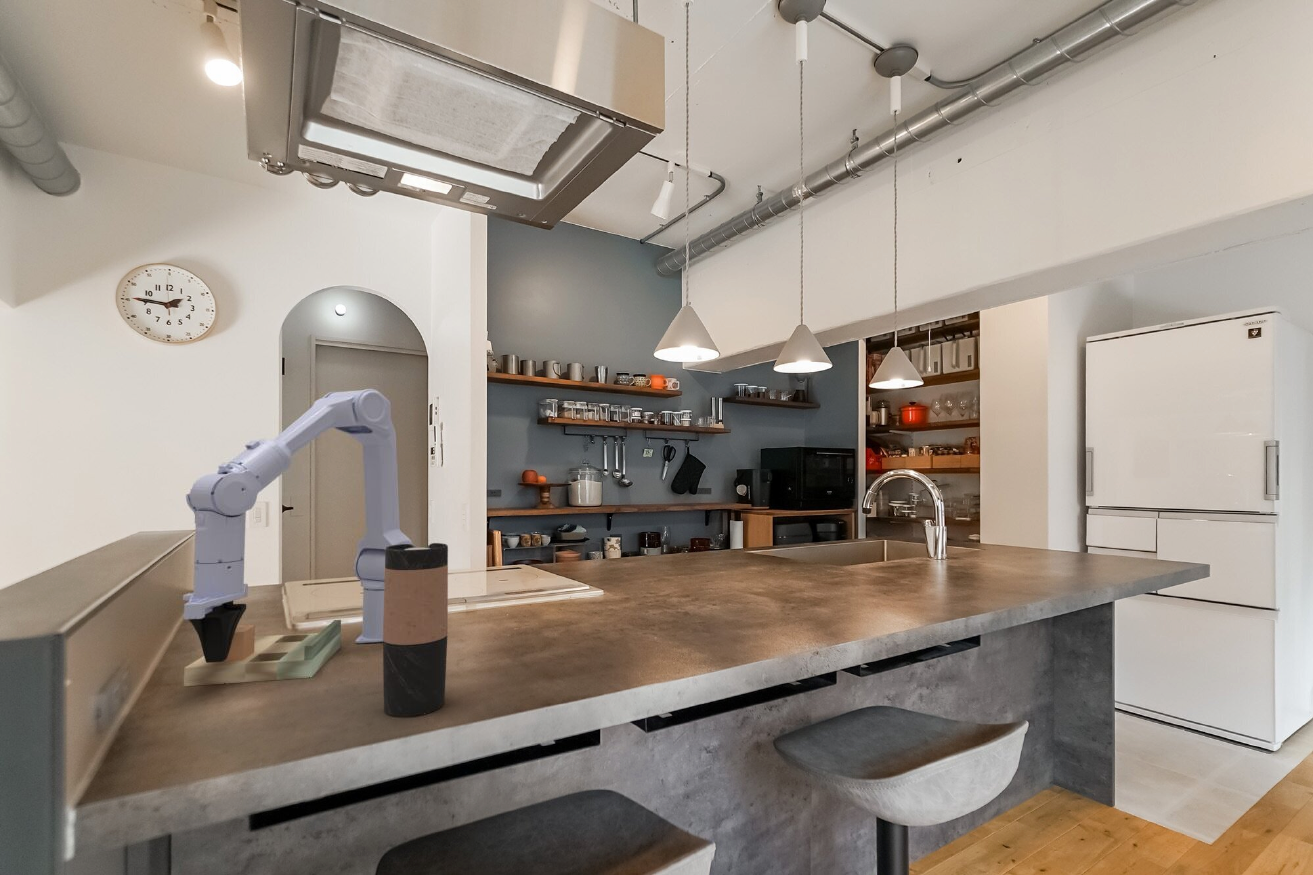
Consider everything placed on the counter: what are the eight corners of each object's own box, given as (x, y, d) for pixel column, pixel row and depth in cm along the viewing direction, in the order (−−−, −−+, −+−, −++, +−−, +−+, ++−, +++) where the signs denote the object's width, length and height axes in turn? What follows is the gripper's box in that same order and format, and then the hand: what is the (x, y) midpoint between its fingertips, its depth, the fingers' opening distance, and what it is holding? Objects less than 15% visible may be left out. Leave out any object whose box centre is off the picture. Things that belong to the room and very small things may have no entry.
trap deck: (340, 646, 106) (341, 619, 107) (311, 677, 91) (312, 645, 91) (233, 653, 103) (234, 625, 103) (183, 686, 87) (184, 653, 87)
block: (254, 652, 95) (255, 625, 95) (243, 660, 91) (244, 631, 91) (224, 654, 94) (224, 626, 94) (211, 662, 90) (212, 633, 90)
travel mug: (407, 723, 75) (410, 551, 76) (368, 710, 79) (371, 547, 80) (459, 702, 81) (461, 544, 82) (420, 691, 85) (422, 541, 86)
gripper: (211, 554, 94) (207, 648, 93) (158, 569, 80) (153, 680, 79) (264, 553, 95) (261, 645, 95) (221, 567, 81) (217, 675, 81)
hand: (216, 660), depth 87 cm, fingers closed
